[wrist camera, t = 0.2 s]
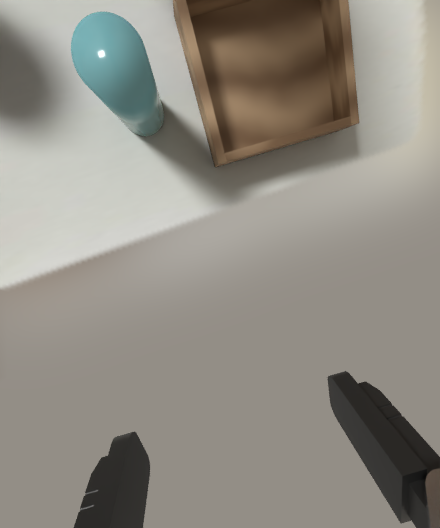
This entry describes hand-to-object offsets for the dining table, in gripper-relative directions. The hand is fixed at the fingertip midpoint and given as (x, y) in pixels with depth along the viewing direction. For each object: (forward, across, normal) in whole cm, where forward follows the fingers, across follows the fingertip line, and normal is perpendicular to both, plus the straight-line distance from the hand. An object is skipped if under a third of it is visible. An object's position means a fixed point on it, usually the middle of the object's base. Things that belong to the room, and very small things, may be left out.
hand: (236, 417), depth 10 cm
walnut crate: (+30, -13, -18) cm, 37 cm away
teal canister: (+29, +3, -18) cm, 34 cm away
